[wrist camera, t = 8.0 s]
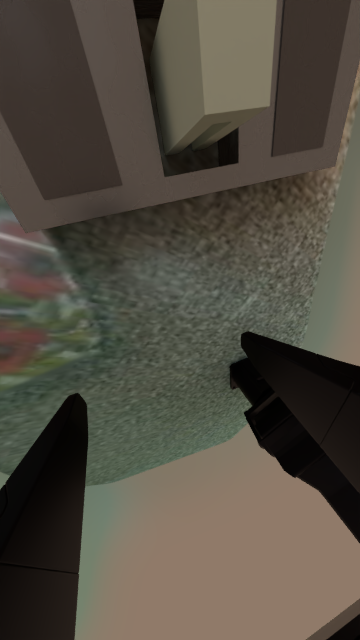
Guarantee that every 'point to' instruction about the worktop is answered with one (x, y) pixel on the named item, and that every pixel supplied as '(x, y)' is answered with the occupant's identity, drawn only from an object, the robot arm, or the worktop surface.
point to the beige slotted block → (211, 68)
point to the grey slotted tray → (136, 109)
